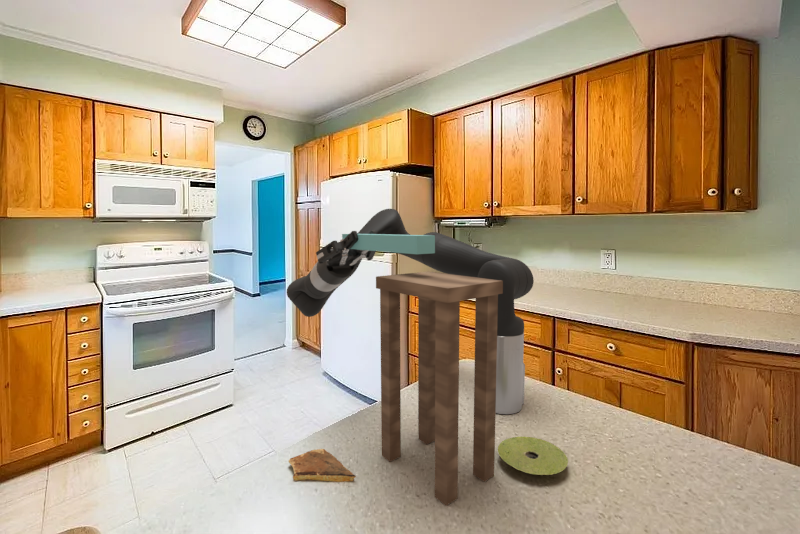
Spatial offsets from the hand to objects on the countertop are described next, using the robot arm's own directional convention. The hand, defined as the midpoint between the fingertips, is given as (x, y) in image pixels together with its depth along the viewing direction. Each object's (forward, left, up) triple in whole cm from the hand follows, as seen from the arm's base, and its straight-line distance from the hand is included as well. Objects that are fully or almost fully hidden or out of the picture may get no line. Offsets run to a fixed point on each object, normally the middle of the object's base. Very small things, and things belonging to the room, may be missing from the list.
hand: (365, 234), depth 78 cm
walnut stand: (0, +21, -39) cm, 44 cm away
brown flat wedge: (+15, +9, -40) cm, 43 cm away
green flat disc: (-13, +31, -39) cm, 51 cm away
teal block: (0, +6, -3) cm, 7 cm away
